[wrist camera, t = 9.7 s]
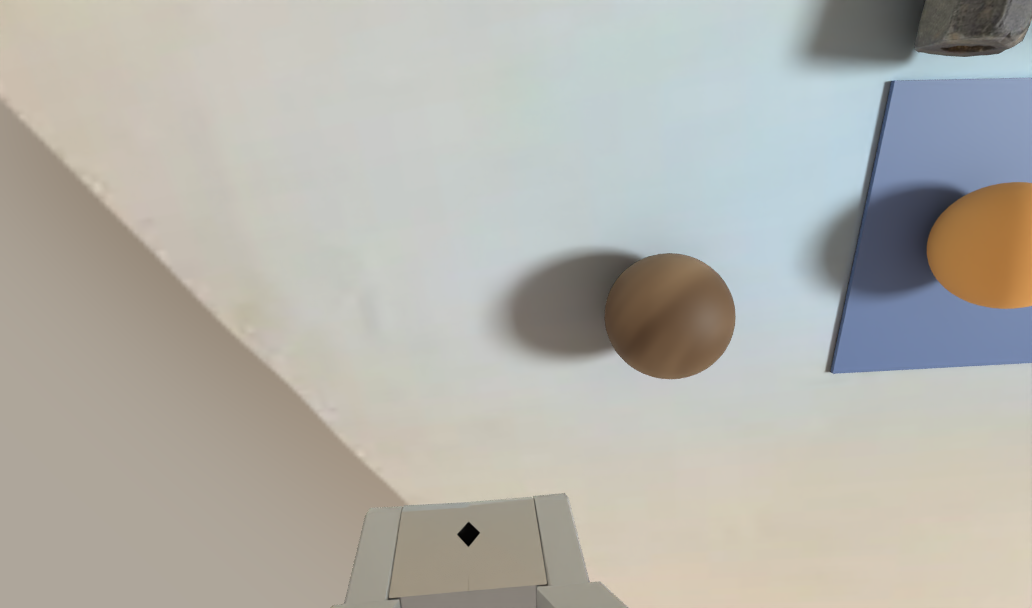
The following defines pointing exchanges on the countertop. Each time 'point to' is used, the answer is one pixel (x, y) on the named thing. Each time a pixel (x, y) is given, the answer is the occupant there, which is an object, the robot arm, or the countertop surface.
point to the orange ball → (986, 246)
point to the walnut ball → (670, 316)
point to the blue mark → (910, 217)
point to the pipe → (972, 26)
